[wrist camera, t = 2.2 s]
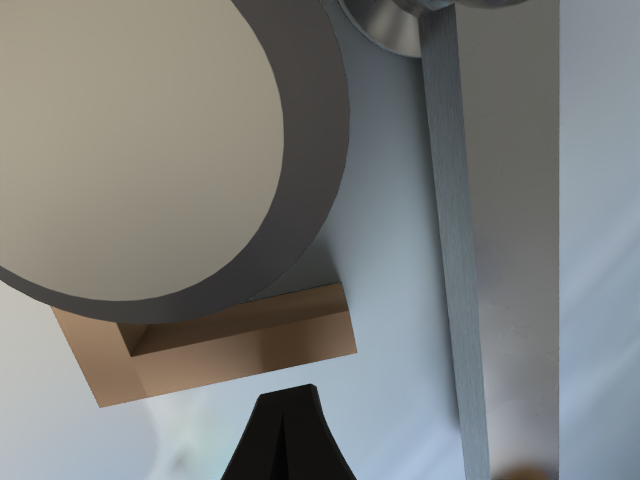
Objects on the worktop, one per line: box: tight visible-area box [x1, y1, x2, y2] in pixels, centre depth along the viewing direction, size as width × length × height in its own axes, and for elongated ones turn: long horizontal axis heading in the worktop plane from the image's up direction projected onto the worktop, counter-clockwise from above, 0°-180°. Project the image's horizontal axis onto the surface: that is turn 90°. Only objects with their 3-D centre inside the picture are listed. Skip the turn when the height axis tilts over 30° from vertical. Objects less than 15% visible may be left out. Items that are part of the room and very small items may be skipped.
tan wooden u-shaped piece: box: [51, 282, 357, 408], centre depth 9 cm, size 13×6×2 cm, turn 11°
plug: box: [0, 0, 350, 324], centre depth 7 cm, size 4×4×7 cm
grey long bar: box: [392, 0, 559, 480], centre depth 9 cm, size 16×3×3 cm, turn 11°
